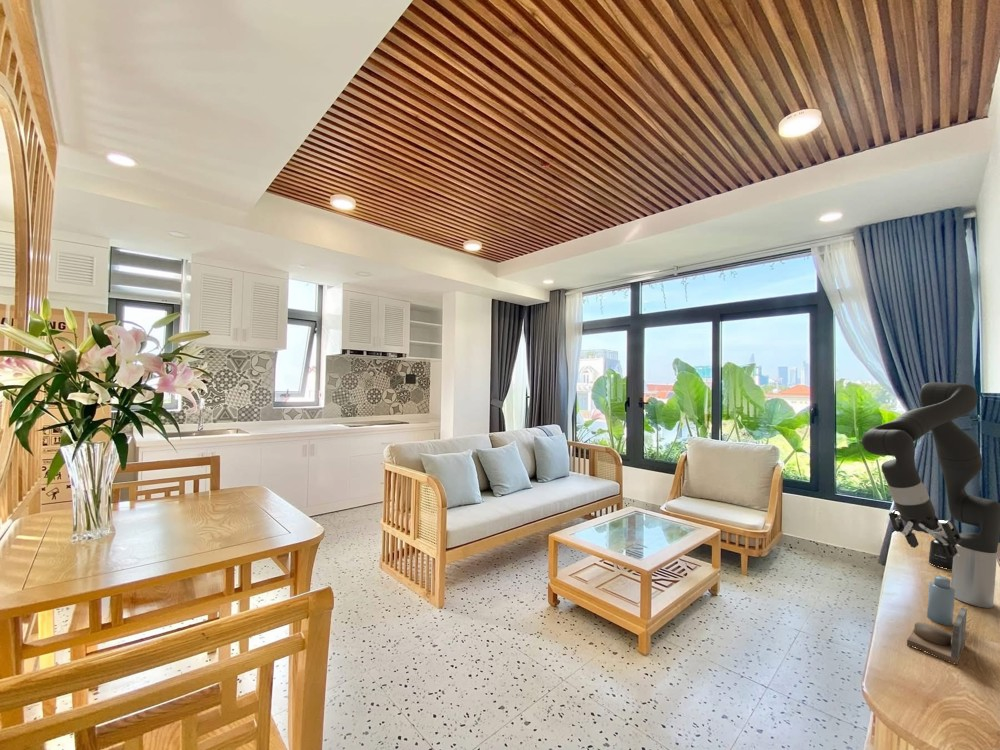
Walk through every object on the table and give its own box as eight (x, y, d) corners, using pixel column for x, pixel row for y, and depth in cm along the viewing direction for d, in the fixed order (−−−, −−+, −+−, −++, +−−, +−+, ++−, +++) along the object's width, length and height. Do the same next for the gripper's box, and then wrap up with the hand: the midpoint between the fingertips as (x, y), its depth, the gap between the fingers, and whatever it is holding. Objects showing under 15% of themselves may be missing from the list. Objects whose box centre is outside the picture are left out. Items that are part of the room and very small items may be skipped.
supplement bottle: (934, 568, 160) (937, 536, 160) (924, 560, 166) (926, 530, 166) (959, 572, 157) (961, 540, 157) (947, 564, 164) (950, 533, 164)
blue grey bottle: (928, 613, 128) (931, 572, 128) (953, 621, 124) (956, 579, 124) (925, 618, 125) (928, 576, 125) (951, 627, 121) (954, 584, 120)
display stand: (917, 627, 120) (920, 594, 120) (964, 644, 113) (967, 609, 113) (906, 645, 112) (909, 609, 111) (957, 665, 104) (959, 627, 104)
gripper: (951, 495, 112) (975, 552, 112) (890, 486, 125) (911, 537, 126) (932, 509, 110) (957, 566, 110) (873, 498, 124) (895, 549, 124)
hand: (933, 550), depth 118 cm, fingers open, 8 cm apart
